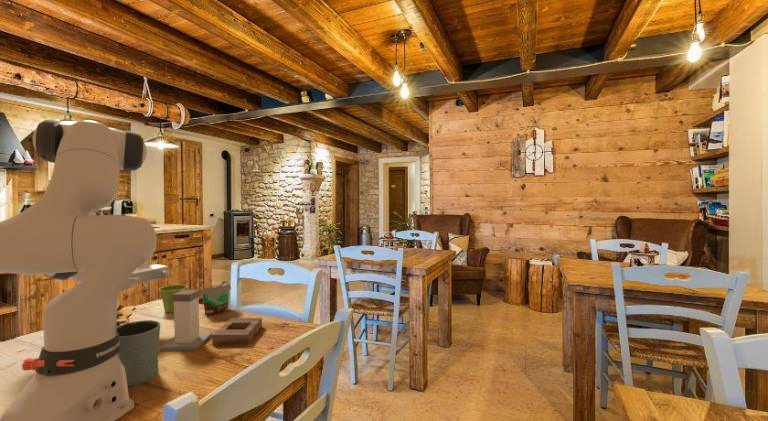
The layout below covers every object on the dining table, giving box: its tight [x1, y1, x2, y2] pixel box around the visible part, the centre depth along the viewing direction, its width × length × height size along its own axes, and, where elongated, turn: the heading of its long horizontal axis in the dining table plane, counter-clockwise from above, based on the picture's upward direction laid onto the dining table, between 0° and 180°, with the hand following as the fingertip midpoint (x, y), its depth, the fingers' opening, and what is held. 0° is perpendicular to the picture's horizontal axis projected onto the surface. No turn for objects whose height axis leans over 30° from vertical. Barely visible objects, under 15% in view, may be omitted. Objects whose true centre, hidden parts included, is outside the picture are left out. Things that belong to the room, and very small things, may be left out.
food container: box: [201, 280, 232, 316], centre depth 134 cm, size 12×6×10 cm, turn 168°
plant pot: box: [158, 284, 189, 314], centre depth 135 cm, size 9×9×9 cm
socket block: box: [211, 317, 263, 346], centre depth 111 cm, size 14×10×3 cm
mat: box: [159, 332, 213, 352], centre depth 105 cm, size 10×10×1 cm
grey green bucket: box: [117, 319, 161, 387], centre depth 85 cm, size 10×10×12 cm
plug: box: [173, 289, 200, 343], centre depth 105 cm, size 5×5×14 cm
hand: (154, 278), depth 108 cm, fingers open, 8 cm apart
